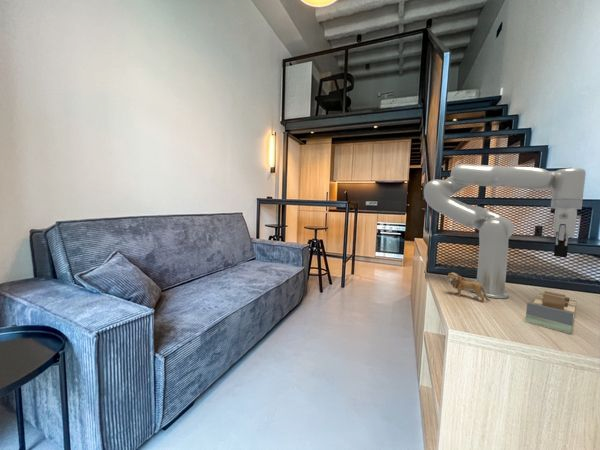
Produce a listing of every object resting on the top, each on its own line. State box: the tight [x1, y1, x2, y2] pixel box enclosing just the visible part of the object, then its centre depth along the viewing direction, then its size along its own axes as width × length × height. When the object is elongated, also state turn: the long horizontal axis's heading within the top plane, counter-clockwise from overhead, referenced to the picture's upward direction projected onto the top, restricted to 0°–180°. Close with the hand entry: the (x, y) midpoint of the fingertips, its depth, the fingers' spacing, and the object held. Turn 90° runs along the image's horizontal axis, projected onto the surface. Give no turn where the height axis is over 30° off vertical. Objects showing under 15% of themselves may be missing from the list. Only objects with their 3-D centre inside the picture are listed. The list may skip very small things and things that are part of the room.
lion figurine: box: [446, 272, 491, 303], centre depth 102 cm, size 15×5×9 cm, turn 51°
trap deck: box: [524, 291, 577, 335], centre depth 89 cm, size 34×10×2 cm, turn 131°
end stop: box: [525, 301, 575, 327], centre depth 78 cm, size 2×10×4 cm, turn 41°
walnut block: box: [542, 290, 566, 310], centre depth 87 cm, size 5×5×4 cm
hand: (560, 256), depth 91 cm, fingers closed
